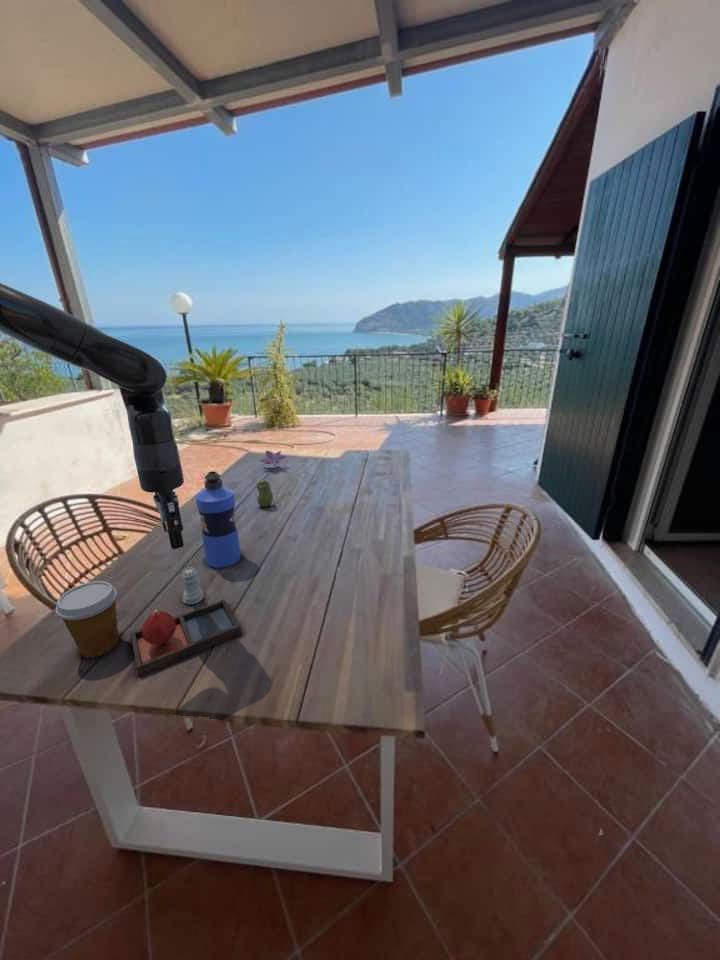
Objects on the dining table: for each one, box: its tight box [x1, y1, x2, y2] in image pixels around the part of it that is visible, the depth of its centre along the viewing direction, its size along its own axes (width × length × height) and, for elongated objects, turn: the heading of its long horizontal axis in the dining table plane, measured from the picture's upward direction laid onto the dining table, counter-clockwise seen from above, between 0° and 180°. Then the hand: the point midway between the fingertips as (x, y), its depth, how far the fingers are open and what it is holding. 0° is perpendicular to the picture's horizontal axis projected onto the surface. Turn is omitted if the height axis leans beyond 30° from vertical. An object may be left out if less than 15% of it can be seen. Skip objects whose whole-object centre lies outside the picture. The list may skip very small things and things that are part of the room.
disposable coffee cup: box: [55, 580, 119, 658], centre depth 74 cm, size 10×10×12 cm
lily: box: [259, 450, 288, 473], centre depth 177 cm, size 12×12×10 cm
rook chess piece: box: [181, 566, 205, 606], centre depth 89 cm, size 4×4×8 cm
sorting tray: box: [129, 598, 242, 677], centre depth 78 cm, size 19×11×2 cm, turn 125°
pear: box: [256, 479, 274, 508], centre depth 138 cm, size 6×5×10 cm
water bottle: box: [195, 471, 242, 569], centre depth 102 cm, size 9×9×25 cm
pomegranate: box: [141, 609, 176, 645], centre depth 75 cm, size 6×6×8 cm
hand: (173, 538), depth 79 cm, fingers open, 8 cm apart
